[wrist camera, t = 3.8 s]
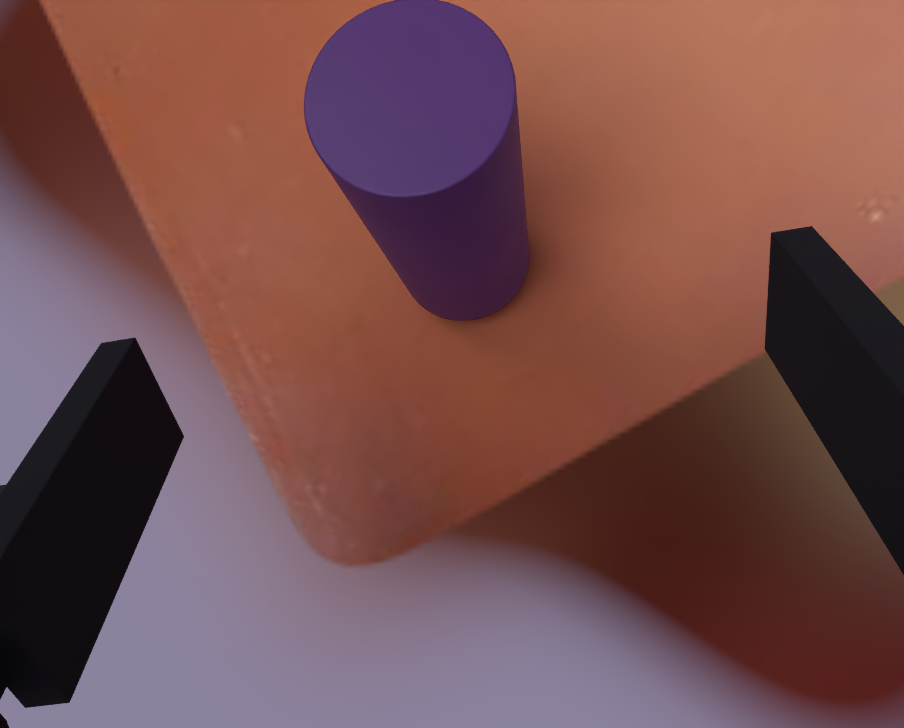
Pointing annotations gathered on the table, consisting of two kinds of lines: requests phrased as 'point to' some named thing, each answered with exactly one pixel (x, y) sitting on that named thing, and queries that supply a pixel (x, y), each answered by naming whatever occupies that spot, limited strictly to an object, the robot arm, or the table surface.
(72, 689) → the robot arm
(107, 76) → the table surface
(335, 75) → the purple cylinder
